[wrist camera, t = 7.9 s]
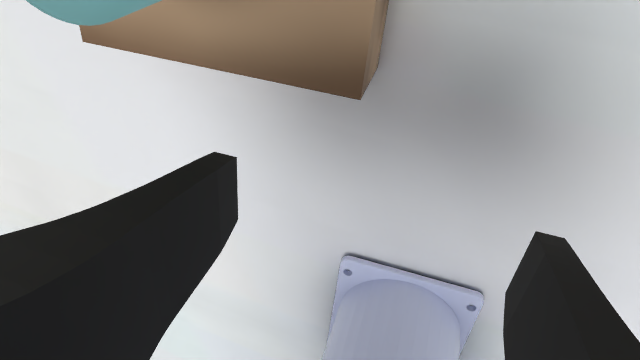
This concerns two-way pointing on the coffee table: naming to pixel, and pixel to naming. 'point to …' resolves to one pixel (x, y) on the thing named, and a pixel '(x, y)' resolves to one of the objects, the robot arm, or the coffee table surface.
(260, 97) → the coffee table surface
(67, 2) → the teal tin
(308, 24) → the walnut block
